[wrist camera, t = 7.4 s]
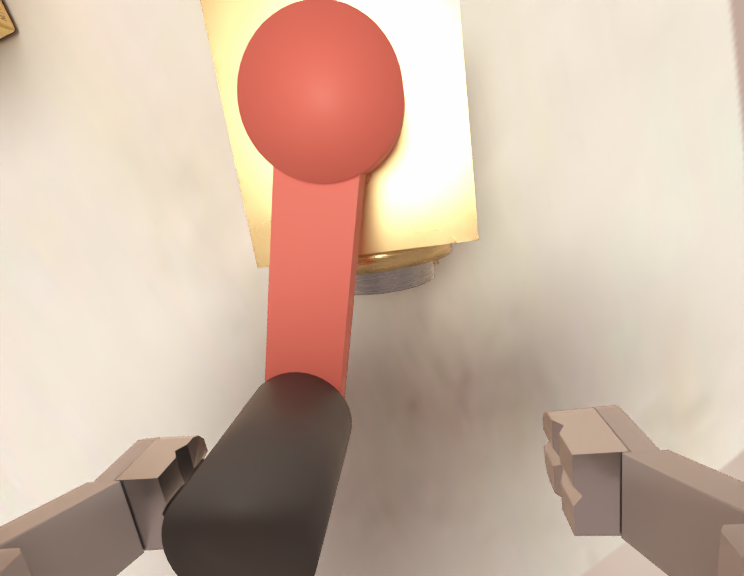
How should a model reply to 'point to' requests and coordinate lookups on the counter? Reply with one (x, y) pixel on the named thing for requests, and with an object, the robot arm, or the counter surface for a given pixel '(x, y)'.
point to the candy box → (5, 22)
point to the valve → (405, 162)
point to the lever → (296, 293)
